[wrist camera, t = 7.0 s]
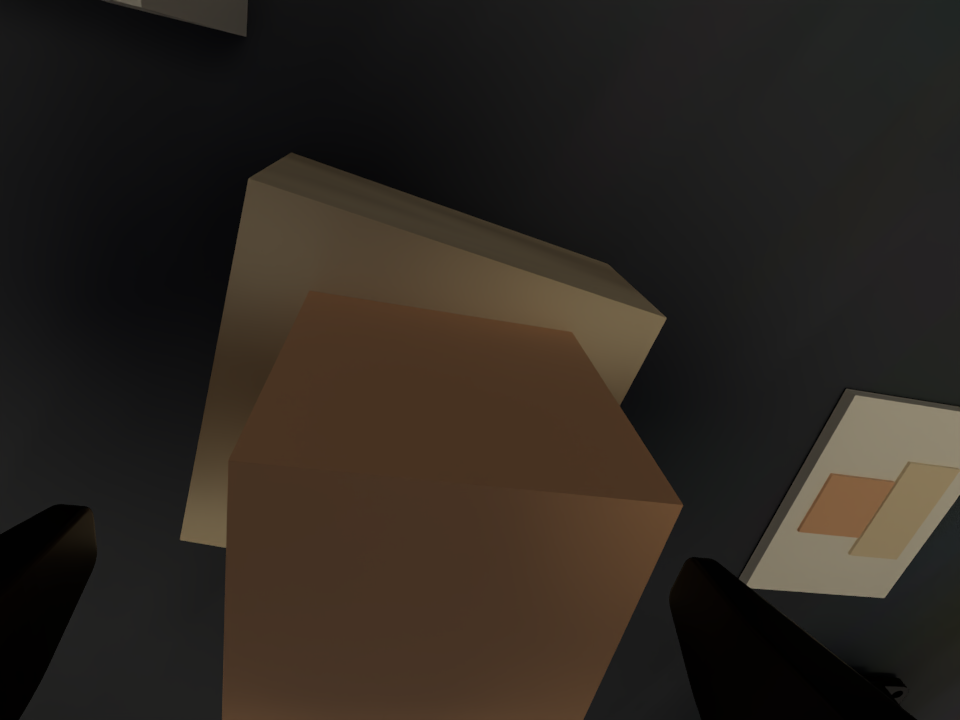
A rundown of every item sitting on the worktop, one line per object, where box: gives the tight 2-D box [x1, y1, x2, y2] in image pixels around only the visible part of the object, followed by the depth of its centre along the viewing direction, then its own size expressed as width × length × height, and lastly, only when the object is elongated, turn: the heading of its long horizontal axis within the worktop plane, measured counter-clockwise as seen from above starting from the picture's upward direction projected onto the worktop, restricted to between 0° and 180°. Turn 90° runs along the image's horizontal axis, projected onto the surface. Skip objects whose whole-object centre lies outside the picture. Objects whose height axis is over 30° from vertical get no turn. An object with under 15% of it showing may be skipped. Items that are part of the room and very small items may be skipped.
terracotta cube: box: [222, 291, 683, 720], centre depth 9 cm, size 5×5×5 cm
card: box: [739, 389, 960, 598], centre depth 19 cm, size 8×6×1 cm
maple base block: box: [180, 153, 667, 548], centre depth 13 cm, size 8×8×4 cm
